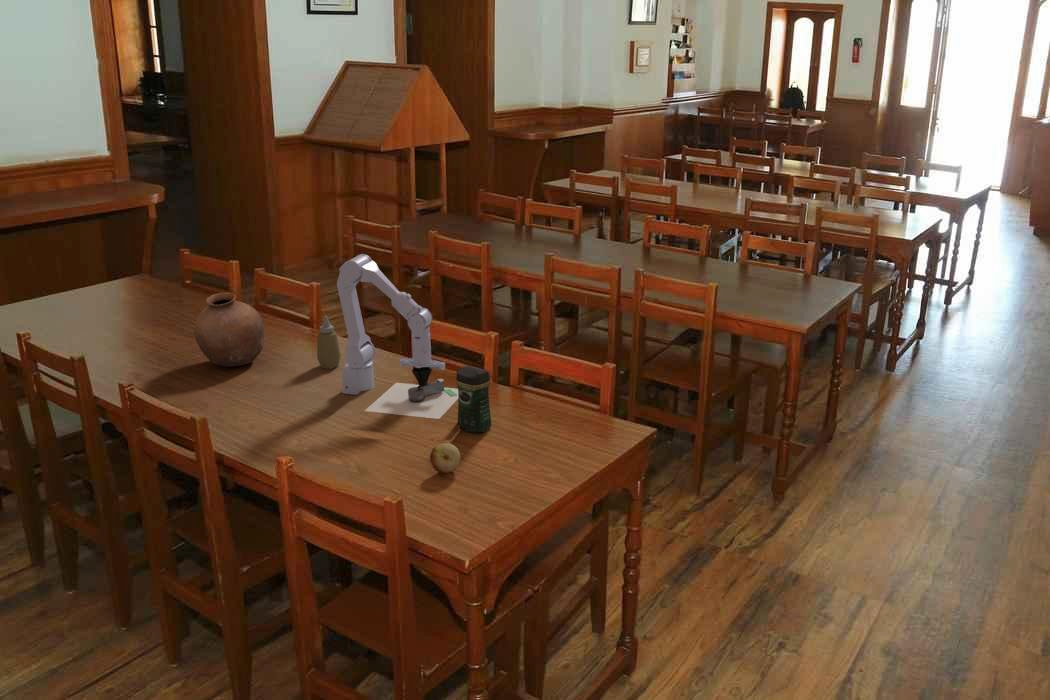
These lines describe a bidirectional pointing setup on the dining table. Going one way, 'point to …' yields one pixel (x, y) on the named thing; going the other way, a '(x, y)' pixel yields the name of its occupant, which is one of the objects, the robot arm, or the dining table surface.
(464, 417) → the coffee jar
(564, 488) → the dining table surface
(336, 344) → the squeeze bottle
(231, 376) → the dining table surface
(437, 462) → the fruit
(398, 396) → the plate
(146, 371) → the dining table surface
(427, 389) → the grey measuring scoop
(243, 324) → the pottery
